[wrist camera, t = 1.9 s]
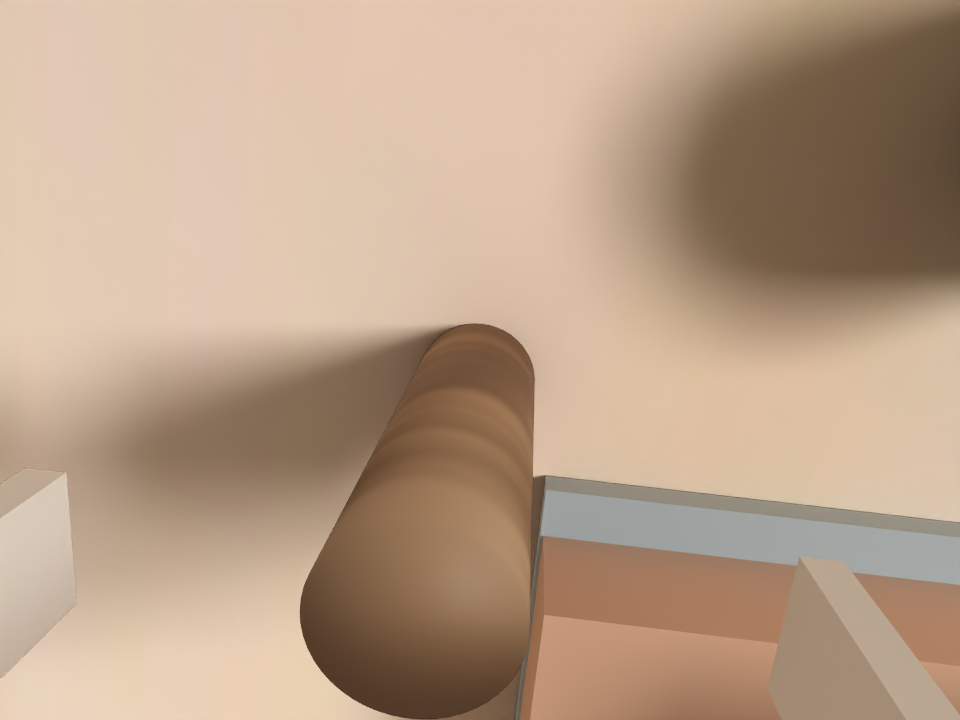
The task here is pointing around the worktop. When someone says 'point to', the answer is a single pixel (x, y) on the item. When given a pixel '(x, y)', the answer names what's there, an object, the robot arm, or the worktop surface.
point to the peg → (435, 540)
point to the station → (709, 598)
